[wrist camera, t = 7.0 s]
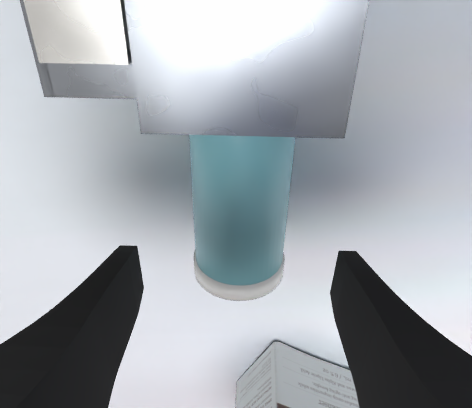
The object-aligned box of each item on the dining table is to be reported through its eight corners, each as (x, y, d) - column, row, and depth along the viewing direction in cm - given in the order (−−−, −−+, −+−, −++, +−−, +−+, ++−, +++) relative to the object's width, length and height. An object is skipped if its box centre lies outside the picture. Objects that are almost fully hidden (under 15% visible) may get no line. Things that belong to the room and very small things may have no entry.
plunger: (145, -40, 13) (114, -44, 10) (153, 45, 15) (128, 64, 12) (67, -41, 13) (12, -46, 10) (83, 44, 15) (39, 63, 12)
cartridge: (185, -60, 13) (162, -73, 9) (308, -58, 13) (334, -71, 9) (199, 239, 19) (188, 299, 16) (279, 241, 19) (287, 302, 16)
